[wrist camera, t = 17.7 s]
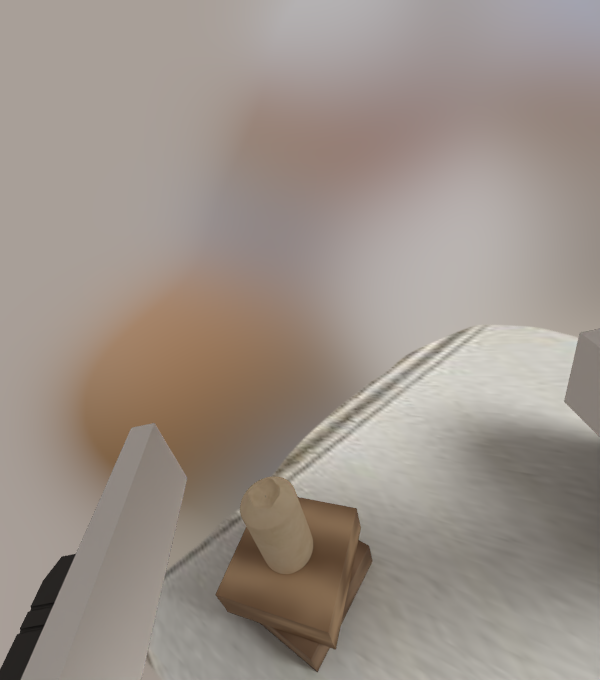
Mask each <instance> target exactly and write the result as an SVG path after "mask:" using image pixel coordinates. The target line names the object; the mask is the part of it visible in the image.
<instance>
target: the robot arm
mask: <svg viewBox="0 0 600 680" xmlns="http://www.w3.org/2000/svg"><path fill="white" fill-rule="evenodd" d="M564 402H565V403H566V404H567V405H568V406H569V407H570V408H571V409H572V410H573V411H574V412H575V413H576V414H577V415H578V416H579V417H580V418H581V419H582V420H583V421H584V422H585V423H586V424H587V425H588V426H589V427H590V428H591V429H592V430H593V431H594V432H595V433H596V434H597V435H598V436H599V437H600V329H595V330H591V331H586V332H581V333H580V334H579V338H578V343H577V347H576V352H575V356H574V360H573V365H572V369H571V374H570V378H569V382H568V387H567V391H566V396H565V400H564ZM186 481H187V477H186V475H185V473H184V472H183V470H182V468H181V467H180V465H179V464H178V462H177V460H176V458H175V457H174V455H173V453H172V452H171V450H170V448H169V447H168V445H167V443H166V442H165V440H164V438H163V437H162V435H161V433H160V432H159V430H158V428H157V427H156V425H155V423H153V424H148V425H144V426H139V427H134V428H131V430H130V432H129V435H128V437H127V439H126V441H125V443H124V446H123V448H122V450H121V453H120V455H119V457H118V459H117V462H116V464H115V466H114V469H113V471H112V473H111V476H110V478H109V480H108V482H107V484H106V487H105V489H104V491H103V494H102V496H101V498H100V500H99V503H98V505H97V507H96V509H95V512H94V514H93V516H92V519H91V521H90V523H89V525H88V528H87V530H86V532H85V535H84V537H83V539H82V541H81V544H80V546H79V548H78V550H77V553H76V554H74V555H68V556H63V557H61V558H60V560H59V561H58V562H57V564H56V565H55V566H54V568H53V569H52V570H51V571H50V573H49V574H48V575H47V576H46V578H45V579H44V580H43V582H42V584H41V586H40V588H39V590H38V592H37V595H36V597H35V599H34V601H33V603H32V605H31V611H30V612H28V613H27V615H26V617H25V619H24V621H23V623H22V626H21V628H20V634H17V636H16V638H15V640H14V642H13V644H12V646H11V648H10V650H9V653H8V654H7V657H6V659H5V661H4V663H3V665H2V667H1V669H0V680H141V678H142V674H143V670H144V666H145V661H146V657H147V652H148V648H149V644H150V639H151V635H152V630H153V626H154V622H155V617H156V613H157V609H158V604H159V600H160V595H161V591H162V587H163V582H164V578H165V573H166V569H167V565H168V560H169V556H170V551H171V547H172V542H173V538H174V533H175V529H176V525H177V520H178V516H179V512H180V507H181V503H182V499H183V494H184V490H185V485H186Z"/></svg>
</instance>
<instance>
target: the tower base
mask: <svg viewBox="0 0 600 680" xmlns="http://www.w3.org/2000/svg"><path fill="white" fill-rule="evenodd" d="M371 563H372V557H371V552H370V548H369V546H368V545H366V544H365V543H363V542H361V541H359V540H358V544H357V549H356V554H355V559H354V563H353V568H352V573H351V578H350V583H349V587H348V592H347V597H346V602H345V607H344V611H343V616H342V621H341V624H342V622H343V620H344V618H345V616H346V614H347V612H348V610H349V608H350V606H351V603H352V601H353V599H354V597H355V595H356V593H357V591H358V589H359V587H360V585H361V583H362V581H363V579H364V577H365V575H366V573H367V571H368V569H369V567H370V565H371ZM260 624H262V623H260ZM262 625H263V626H264V627H265V628H266V629H268V630H269V631H270V632H271V633H272V634H273V635H275V636H276V637H277V638H278V639H279V640H280V641H282V642H283V643H284V644H285V645H286V646H288V647H289V648H290V649H291V650H292V651H293V652H295V653H296V654H297V655H298V656H299V657H300V658H302V659H303V660H304V661H305V662H306V663H307V664H309V665H310V666H311V667H312V668H313V669H315V670H316V671H317V672H318V670H319V668H320V666H321V664H322V662H323V660H324V658H325V656H326V654H327V652H328V650H329V648H330V647H327V646H324V645H322V644H319V643H316V642H313V641H310V640H307V639H304V638H302V637H299V636H296V635H293V634H290V633H287V632H284V631H282V630H279V629H276V628H273V627H270V626H267V625H264V624H262Z"/></svg>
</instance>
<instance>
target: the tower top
mask: <svg viewBox="0 0 600 680" xmlns="http://www.w3.org/2000/svg"><path fill="white" fill-rule="evenodd" d="M298 500H299V502H300V505H301V508H302V510H303V513H304V516H305V518H306V521H307V524H308V526H309V529H310V532H311V535H312V538H313V552H312V555H311V557H310V559H309V561H308V562H307V564H306V565H305V566H304V567H303V568H302V569H300V570H299V571H297V572H295V573H292V574H280V573H277V572H275V571H273V570H272V569H271V568H270V567H269V566H268V565H267V563H266V561H265V560H264V558H263V556H262V554H261V552H260V550H259V549H258V547H257V545H256V543H255V541H254V539H253V537H252V536H251V534H250V532H249V530H248V528H247V527H246V529H245V531H244V533H243V535H242V538H241V540H240V542H239V544H238V546H237V549H236V551H235V553H234V555H233V557H232V560H231V562H230V564H229V566H228V568H227V571H226V573H225V575H224V577H223V579H222V582H221V584H220V586H219V588H218V590H217V593H216V596H217V597H218V599H219V600H220V602H221V603H222V604H223V606H224V607H225V608H226V610H227V611H228V612H230V613H233V614H236V615H239V616H242V617H244V618H247V619H250V620H253V621H256V622H259V623H262V624H264V625H267V626H270V627H273V628H276V629H279V630H282V631H284V632H287V633H290V634H293V635H296V636H299V637H302V638H304V639H307V640H310V641H313V642H316V643H319V644H322V645H324V646H327V647H330V648H333V649H336V645H337V640H338V635H339V631H340V626H341V621H342V616H343V611H344V607H345V602H346V597H347V592H348V587H349V583H350V578H351V573H352V568H353V563H354V559H355V554H356V549H357V544H358V539H359V534H360V530H361V526H360V522H359V518H358V513H357V509H356V508H351V507H346V506H341V505H336V504H330V503H325V502H320V501H315V500H310V499H304V498H299V497H298Z"/></svg>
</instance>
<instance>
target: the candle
mask: <svg viewBox="0 0 600 680" xmlns="http://www.w3.org/2000/svg"><path fill="white" fill-rule="evenodd" d="M240 513H241V517H242V519H243V521H244V523H245V524H246V526H247V528H248V530H249V532H250V534H251V536H252V537H253V539H254V541H255V543H256V545H257V547H258V549H259V550H260V552H261V554H262V556H263V558H264V560H265V561H266V563H267V565H268V566H269V567H270V568H271V569H272V570H273V571H275V572H277V573H280V574H292V573H295V572H297V571H299V570H300V569H302V568H303V567H304V566H305V565H306V564H307V562H308V561H309V559H310V557H311V555H312V552H313V538H312V535H311V532H310V529H309V526H308V524H307V521H306V518H305V516H304V513H303V510H302V508H301V505H300V502H299V500H298V497H297V494H296V492H295V489H294V487H293V485H292V484H291V483H290V482H289V481H288V480H286V479H284V478H281V477H267V478H264V479H261V480H259V481H258V482H256V483H254V484H253V485H252V486H251V487H250V488H249V489H248V490H247V491H246V493H245V494H244V496H243V498H242V501H241V505H240Z"/></svg>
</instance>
